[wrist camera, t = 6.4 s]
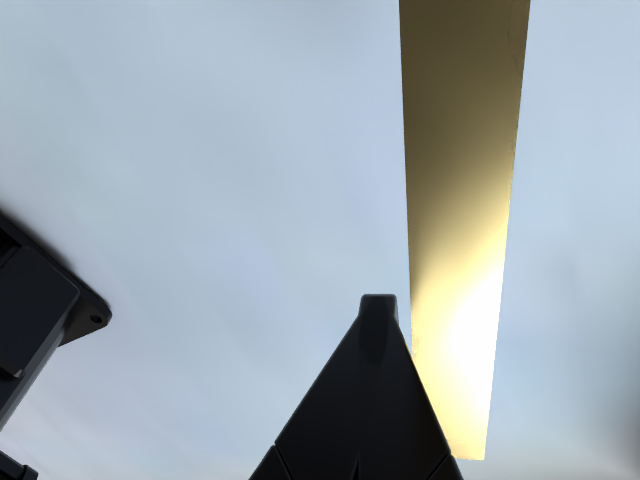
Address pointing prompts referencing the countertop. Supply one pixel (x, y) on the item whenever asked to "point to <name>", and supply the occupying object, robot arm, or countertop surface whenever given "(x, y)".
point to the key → (459, 195)
